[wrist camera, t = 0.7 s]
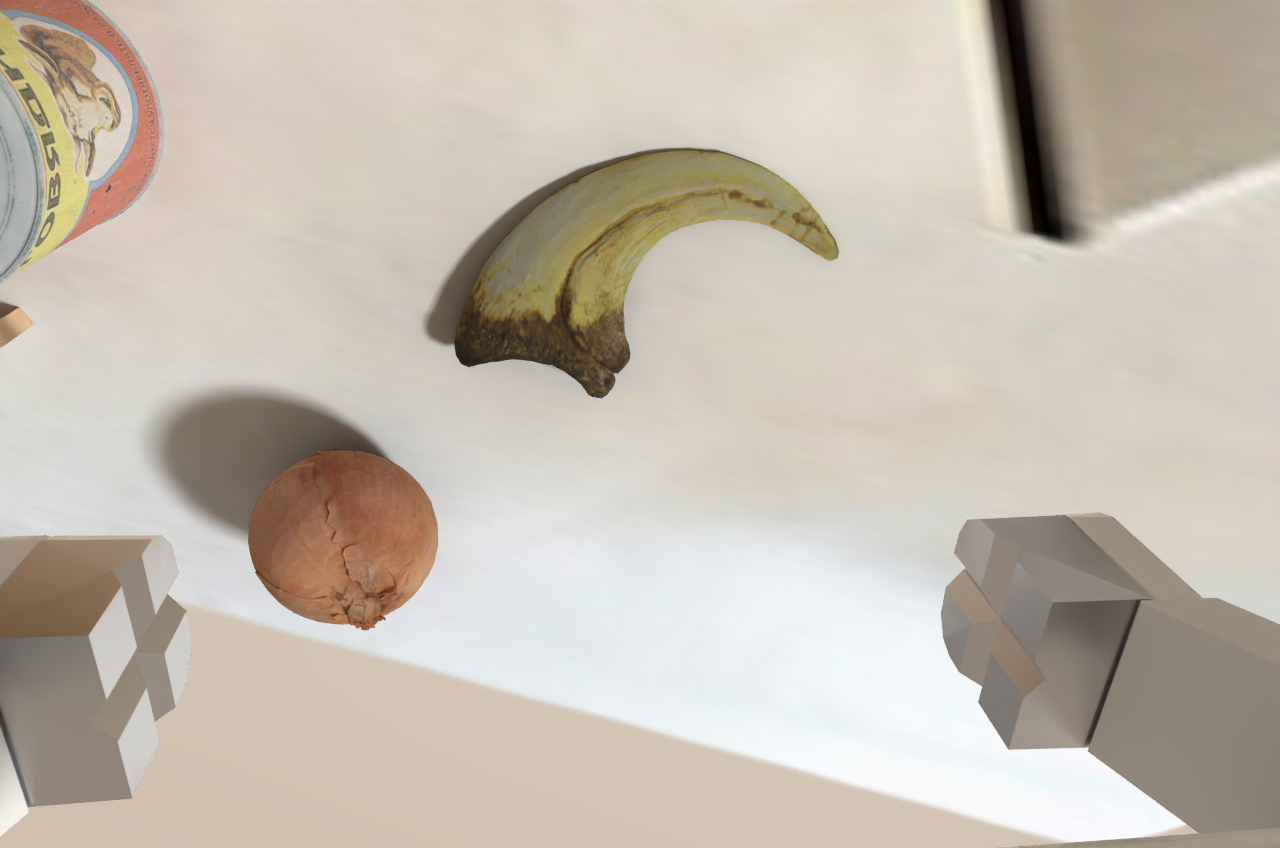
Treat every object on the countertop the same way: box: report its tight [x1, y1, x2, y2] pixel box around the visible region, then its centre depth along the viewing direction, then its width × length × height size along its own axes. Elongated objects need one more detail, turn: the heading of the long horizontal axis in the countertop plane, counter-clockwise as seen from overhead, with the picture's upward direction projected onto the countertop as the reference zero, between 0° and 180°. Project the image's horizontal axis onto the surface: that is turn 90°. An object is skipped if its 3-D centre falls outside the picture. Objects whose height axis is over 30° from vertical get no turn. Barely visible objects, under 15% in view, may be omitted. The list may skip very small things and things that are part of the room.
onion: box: [248, 450, 438, 630], centre depth 48 cm, size 10×9×10 cm
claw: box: [454, 150, 839, 398], centre depth 47 cm, size 20×10×3 cm, turn 120°
